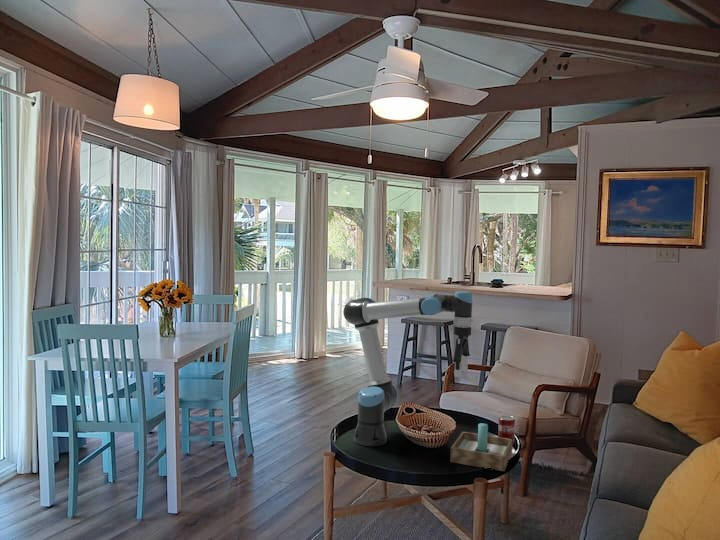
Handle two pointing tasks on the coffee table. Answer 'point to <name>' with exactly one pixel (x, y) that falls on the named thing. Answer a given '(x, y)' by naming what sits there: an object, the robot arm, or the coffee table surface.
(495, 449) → the wooden box with hole
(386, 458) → the coffee table surface
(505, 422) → the soda can
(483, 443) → the teal peg
